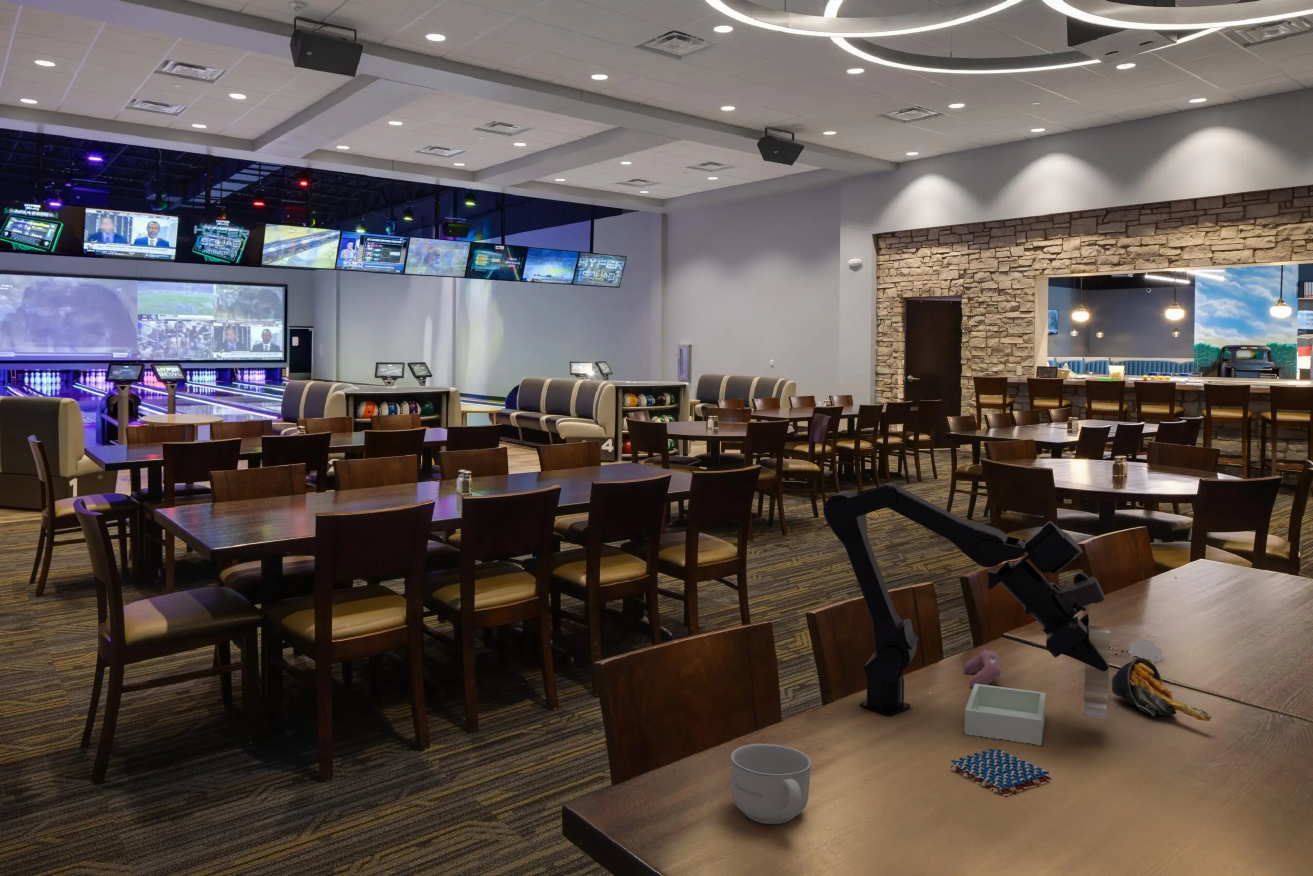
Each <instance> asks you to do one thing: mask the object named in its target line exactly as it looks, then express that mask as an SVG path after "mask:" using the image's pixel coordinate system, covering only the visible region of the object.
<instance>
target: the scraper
mask: <svg viewBox="0 0 1313 876" xmlns="http://www.w3.org/2000/svg"><path fill="white" fill-rule="evenodd" d="M1086 626H1088V625H1086ZM1089 639H1090V641H1091V642H1092V644H1093V645H1094V646H1095V648H1096V649H1097V651H1098V652H1099V653H1100V655H1101V656H1102V658H1103V659H1104V660H1105V662H1106V663H1107V665H1108V666H1109V668H1108V669H1107V670H1106V671H1101V670H1099V669H1097V668H1095V667H1092V666H1090V665H1088V664H1086V663H1084V693H1083V695H1084V697H1083V701H1084V702H1085V705H1084V706H1085V707H1084V708H1085V709H1084V710H1085V713H1084V714H1085V715H1084V716H1086V717H1092V718H1093V717H1095V718H1102V719H1107V715H1108V714H1107V713H1108V712H1107V711H1108V709H1107V708H1108V707H1107V705H1108V704H1109V681H1110V680H1109V679H1110V678H1109V676H1110V675H1109V673H1110V655H1109V647H1110V646H1111V645H1110V643H1111V641H1110V639H1111V629H1110V627H1108V626H1097V625H1089Z"/></svg>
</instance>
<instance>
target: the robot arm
mask: <svg viewBox="0 0 1313 876" xmlns="http://www.w3.org/2000/svg"><path fill="white" fill-rule="evenodd" d="M885 508H887V509H890V510H891V511H893V512H895V513H896V514H899V515H901V516H903V517H904V518H907V519H908V520H910V521H912V522H914V523H916V524H918V525H920V526H922V527H923V528H926V529H928V530H929V531H932V532H933V533H935V534H937V535H939V536H940V537H943V538H945V539H947V540H948V541H949V542H951V544H953V545H955V547H956V548H957V549H959V550H960V551H961V553H962V554H964V555H966V557H968V558H969V559H971V560H972V561H974V562H975V564H976V565H979V566H981V567H984V568H989V570H988V571H987V573H986V575H987V581H988V582H987V588H988V590H993V589H994V588H995V587H996V586H997V585H998V584H1000V585H1002V586H1003V587H1004V588H1005V589H1006V590H1007V591H1008V592H1009V593H1010V595H1012V596H1013V598H1014V599H1016V600H1017V602H1018V603H1019V604H1021V606H1022V607H1023V612H1024V613H1026V615H1027V616H1029V615H1031V616H1032V617H1033V618H1034V619H1035V620H1036V621H1037V622H1038V623H1039V624H1040V625H1041V626H1042V631H1043V633H1044V634H1046V640H1045V641H1046V643H1045V646H1046V647H1045V648H1046V650H1047V651H1048V652H1049V653H1050V654H1051V655H1052V656H1053V657H1054V658H1057V657H1059V656H1060V655H1065V656H1067V657H1069V658H1072V659H1074V660H1077V661H1079V662H1080V663H1083V664H1085V663H1086V664H1088V665H1090V666H1092V667H1095V668H1097V669H1099V670H1101V671H1106V670H1107V669H1108V668H1109V669H1110V665H1109V666H1108V665H1107V663H1106V662H1105V660H1104V659H1103V658H1102V656H1101V655H1100V653H1099V652H1098V651H1097V649H1096V648H1095V646H1094V645H1093V644H1092V642H1091V641H1090V639H1089V624H1090V615H1089V613H1087V614H1085V615H1083V616H1081V618H1080V617H1079V615H1077V614H1078V613H1079V612H1080V611H1083V612H1085V611H1087V607H1088V605H1091V604H1092V605H1093V604H1098V603H1101V602H1104V601H1105V594H1104V592H1103V590H1102V588H1101V585H1100V583H1099V581H1098V579H1097V577H1096V576H1090V577H1089V576H1088V575H1087V574H1086V573H1085V572H1084V571H1081V572H1078V573H1074V575H1073V583H1068V585H1067V586H1063V587H1060V585H1058V584H1057V583H1056V582H1053V581H1052V582H1049V581H1048V580H1047V579H1046V577H1045V576H1044V575H1043V574H1046V573H1047V574H1049V573H1052V574H1054V575H1055V574H1057V573H1058V572H1061V570H1062V569H1063V568H1064V567H1066V566H1067V565H1068V564H1070V563H1071V562H1073V560H1075V559H1076V558H1077V557H1078V556H1079V555H1081V554H1082V553H1083V549H1082V548H1081V546H1080V545H1079V544H1078V543H1077V541H1076V540H1075V539H1073V537H1072V536H1071V535H1070V534H1069V533H1068V532H1065V531H1064V530H1063V529H1061V527H1059V526H1057V525H1056V524H1055V523H1053V521H1051V520H1049V521H1047V523H1045V524H1044V525H1043V526H1042V527H1041V529H1040V530H1039V531H1038V532H1036V533H1035V534H1034V535H1033V536H1031V538H1029V539H1024V538H1019V537H1015V536H1009V535H1007V534H1006V533H1005V532H1004V531H1003V530H1001V529H999V528H996V527H995V526H990V525H988V524H985V523H984V524H983V523H980V522H977V521H972V520H967V519H964V518H962V517H959V516H957V515H955V514H953V513H951V512H950V511H948V510H945V509H944V508H942V507H940V506H937V505H936V504H934V503H931V502H930V501H928V500H926V499H924V498H922V497H920V496H918V495H916V494H914V493H912V492H910V491H908V490H906V489H905V488H903V487H901V485H899V484H897V483H896V482H887V483H884V484H883V485H880V486H877V487H873V488H868V489H865V490H861V491H858V492H854V491H852V490H842V491H840V492H838V493H835V494H833V495H832V496H830V497H828V499H827V500H826V501H825V503H824V505H823V508H822V510H823V511H822V512H823V517H824V519H825V521H826V522H827V524H828V525H829V527H830V529H831V531H832V533H833V535H835V536H836V538H837V539H838V540H839V542H841V544H842V545H843V547H844V548H845V551H846V554H847V556H848V557H847V558H848V559H849V562H850V565H851V567H852V570H853V572H854V575H855V578H856V581H857V584H858V585H859V589H860V591H861V593H862V596H863V600H864V603H865V605H866V607H867V610H868V612H869V615H870V618H871V622H872V631H873V632H872V633H873V634H872V635H873V643H874V648H875V649H874V650H875V652H873V654H872V655H871V656H870V658H869V659H868V661H867V662H866V663H865V664H864V666H863V670H864V674H865V677H866V700H864V701H861V702H859V706H860V707H862V708H865V709H868V710H870V711H874V712H876V713H879V714H881V715H884V716H893V715H894V714H897V713H900V712H902V711H905V710H908V709H911V704H910V703H908V702H904V701H905V679H904V671H903V670H905V669H906V668H907V667H908V666H909V664H910V663H911V661H912V659H913V658H914V656H915V654H916V653H917V647H918V646H917V645H918V644H917V642H918V640H919V637H918V636H917V634H916V633H915V632H914V629H913V624H912V620H911V618H910V617H909V618H907V619H906V618H905V620H903V619H902V617H901V616H899V614H898V612H897V610H896V609H895V606H894V604H893V601H892V598H891V596H890V593H889V590H888V588H887V586H886V583H885V580H884V577H883V575H882V572H881V569H880V566H879V564H878V561H877V558H876V556H875V553H874V550H873V548H872V545H871V543H870V540H869V536H868V520H867V514H870V513H873V512H877V511H878V510H882V509H885ZM1021 556H1022V557H1021ZM1020 557H1021V558H1020ZM1011 560H1012V561H1011ZM1013 560H1016V561H1015V562H1013ZM1029 560H1030V561H1031V562H1030V561H1029ZM1004 561H1006V562H1005V563H1004V564H1003V565H1001V566H1000V567H999V568H997V570H992V569H990V568H994V567H998V566H999V565H1000V564H1002V563H1003V562H1004ZM1038 570H1039V571H1041V572H1042V573H1043V574H1042V573H1041V572H1039V571H1038ZM1086 625H1088V626H1086Z"/></svg>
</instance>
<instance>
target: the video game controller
mask: <svg viewBox="0 0 1313 876" xmlns="http://www.w3.org/2000/svg"><path fill="white" fill-rule="evenodd" d="M962 669H963V671H964V673H965V674H966V673H967V675H972V674H974V675H973V676H972V677H971V679H970V680H969V686H970V687H971V688H972V689H973V687H974V684H981V685H989V686H990V684H991V683H992V682H993V681H995V680H996V679H997V678H998V677H1000V676H1001V675H1002V673H1003V672H1002V664H1001V662H1000V657H999V654H998V653H997V652H995V651H992V650H987V649H985V648H984V650H982V651H980V652H979V653H978V654H977V655H976V656H974V657H972V659H970V660H968V661H967V662H965V664H964V665H963V668H962ZM1001 677H1002V676H1001Z"/></svg>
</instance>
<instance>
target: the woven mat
mask: <svg viewBox="0 0 1313 876" xmlns="http://www.w3.org/2000/svg"><path fill="white" fill-rule="evenodd" d="M988 750H989V751H986V750H982V751H981V753H982V754H981V753H977V752H976V753H974V756H973V755H966V757H967V758H966V757H959V758H958V759H959V760H955V759H951V761H950V762H951V763H953V764H954V765H953V764H952V765H950V770H951V772H954V773H959V775H960V774H961V775H960V776H963V777H964V778H965V779H969V777H970V778H971V779H970V780H971V781H972V780H976V782H975V781H974V784H975V783H978V784H979V783H980V782H981V784H979V785H982V786H981V787H983V786H984V787H983V788H991V787H992V788H994V789H993V790H992V792H994V793H995V792H1000V791H1001V793H1002V794H1003V793H1004V794H1009V793H1012V794H1013V793H1014V794H1017V793H1019V792H1017V791H1018V790H1021V789H1022V790H1023V791H1026V790H1025V788H1024V787H1026V788H1027V787H1031V786H1035V785H1037V786H1035V787H1039V785H1040V784H1041V783H1043V782H1048V781H1049V780H1051V781H1052V777H1050V776H1049V774H1050V772H1049V771H1047V770H1046V769H1043V768H1041V767H1039V766H1036V765H1035V764H1034V763H1030V762H1027V761H1026V760H1023V759H1021V758H1018V757H1017V756H1016V755H1015V756H1013V754H1010V753H1008V752H1005V751H1004V750H1002V749H996V748H995V749H993V748H989V749H988ZM1048 783H1049V782H1048ZM993 784H994V785H993ZM1041 785H1042V784H1041ZM1041 785H1040V786H1041ZM985 786H987V787H985ZM1023 791H1022V792H1023Z"/></svg>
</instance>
